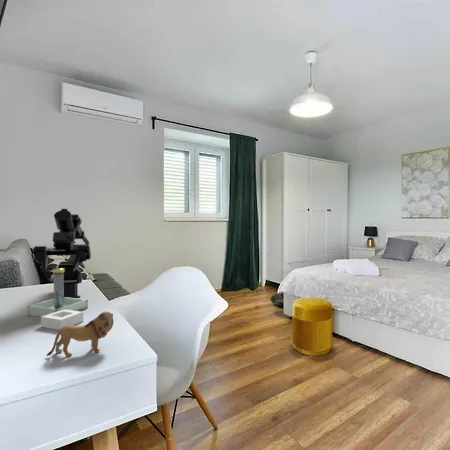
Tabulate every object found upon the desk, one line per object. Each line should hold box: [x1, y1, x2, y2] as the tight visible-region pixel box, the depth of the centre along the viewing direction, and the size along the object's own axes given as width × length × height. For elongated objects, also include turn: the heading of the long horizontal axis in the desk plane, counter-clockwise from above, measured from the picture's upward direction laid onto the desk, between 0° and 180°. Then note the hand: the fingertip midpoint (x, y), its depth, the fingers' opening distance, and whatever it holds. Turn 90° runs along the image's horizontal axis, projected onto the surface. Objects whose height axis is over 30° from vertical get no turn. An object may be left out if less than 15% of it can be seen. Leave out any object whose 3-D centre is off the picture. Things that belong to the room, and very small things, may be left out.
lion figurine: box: [46, 311, 115, 358], centre depth 71 cm, size 15×5×9 cm, turn 118°
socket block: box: [40, 309, 84, 331], centre depth 90 cm, size 8×8×3 cm
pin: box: [52, 267, 65, 309], centre depth 103 cm, size 4×4×14 cm
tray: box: [27, 297, 89, 318], centre depth 103 cm, size 13×13×3 cm
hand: (59, 271), depth 105 cm, fingers open, 9 cm apart
